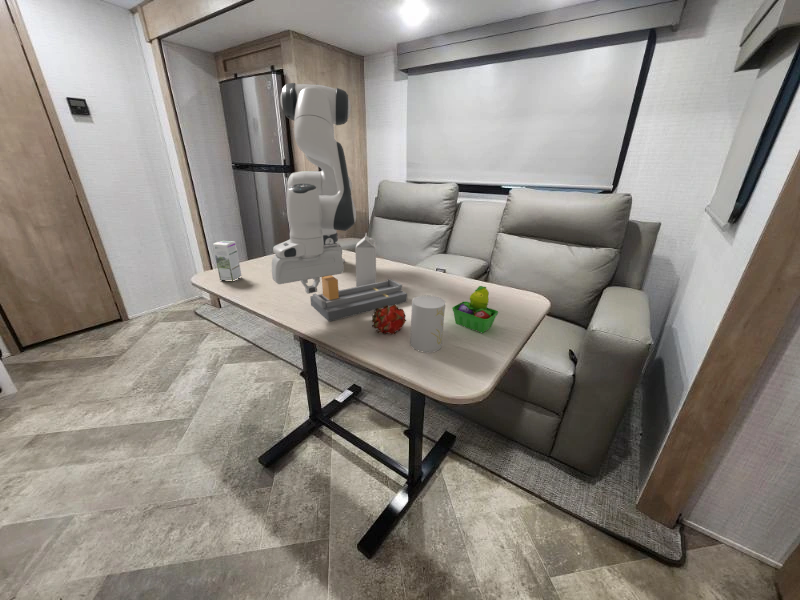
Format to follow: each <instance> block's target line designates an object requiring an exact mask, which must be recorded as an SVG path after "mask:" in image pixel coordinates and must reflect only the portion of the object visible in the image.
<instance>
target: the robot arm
mask: <svg viewBox="0 0 800 600" xmlns="http://www.w3.org/2000/svg"><path fill="white" fill-rule="evenodd" d="M279 99H280V100H279V102H280V106H281V109H282V111H283V115H285V117H286V118H288V119H289V120H290V121H291V120H292V121H294V122H293V123H294V125H293V126H294V127H293V133H294V141H295V143H296V146H297V147H298V148H299V149H300V151H301V152H302V153H303V154H304V156H305V158H306V159H307V161H309V162H310V163H311V164H312V165H314V166H316V167H318V168H320V169H321V171H315V170H314V171H311V170H309V171H308V170H306V171H305V170H303V171H296V172H292V173H290V175H289V177H288V179H287V193H286V198H287V199H286V210H287V211H286V213H287V220H288V223H289V226H290V227H289V230H290V232H289V239H288V240H286V241H283V242H280V243H278V244H276V245H274V246H273V250H272V251H273V254H274V256H273V257H272V261H271V276H272V280H273V282H274V283H276V284H277V285H284V284H291V283H295V282H300V283H301V284H302V286H303V287H304V289H305V294H306V295H307V294H309V295H310V294H315V293H317V292H318V288H317V287H318V286H319V283H321V278H322V277H325V276H331V275H332V276H335V275H341V274H342V273H343V272H344V268H345V267H344V263H345V262H346V260H345V258H343V247H342V245H341V244H340V242H339V241H338V240H339V236H338V235H339V234H338V232H337V231H342V232H347V231H349V230H350V229H351V228H352V227H353V226H354V225H355V223H356V221H357V210H356V205H355V202H354V200H353V196H352V190H353V183H352V180H351V178H350V176H349V172H348V167H347V166H348V165H347V162H346V156H345V152H344V151H345V150H344V148H343V146H342V144H341V143H340V142H338V141H337V140H336V139H335V127H334V125H335V126H342V125H345V124H346V123H347V122H348V119H349V118H350V115H351V111H352V107H351V106H352V105H351V101H350V98H349V94H348V93H347V92H346V90H344V89H341V88H338V87H336V88H335V87H330V86H327V85H322V84H311V83H310V84H309V83H299V84H298V83H295V82H290V83H286V84H285V85H284V86H283V87H282V89H281V93H280V97H279ZM311 279H312V280H313V283H312V285H308V280H311Z"/></svg>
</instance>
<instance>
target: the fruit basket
mask: <svg viewBox="0 0 800 600" xmlns="http://www.w3.org/2000/svg"><path fill="white" fill-rule="evenodd" d="M489 292H490V291H489V290H488V289H487V286H484V285H479V286H478V287H476V289H475V290H474V292H472V293H471V294H470V295H469V301H466V300H465V301H462V302H460V303H458V304H456V305H454V306H452V308H451V309H452V312H453V316H454V321H455V324H456V325H458V324H459V325H458V326H461V327H464V326H465V327H464V328H468V329H470V330H472V329H473V331H475V330H477V332H478V331H479V332H478V333H481V332H482V333H481V334H484V333H485V332H487V331H488V330H489V329H490V327H492V326H493V323H494V322H495V320H496V318H497V316H498V314H499V311H498V310H496V309H493V308H490V307H488V305H489ZM486 330H487V331H486ZM484 331H485V332H484Z"/></svg>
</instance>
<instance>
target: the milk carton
mask: <svg viewBox="0 0 800 600" xmlns="http://www.w3.org/2000/svg"><path fill="white" fill-rule="evenodd" d="M376 243H377V242H376V240H375V239H374V238H373V237H369V236H368V234H367V232H365V236H364V237H362V238H361V240H359V241H358V242H357V243H356V245H355V251H354V253H355V281H356V282H355V285H356V286H355V287H358V286H363V285H368V284H373V283H377V244H376Z"/></svg>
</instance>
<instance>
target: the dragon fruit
mask: <svg viewBox="0 0 800 600" xmlns="http://www.w3.org/2000/svg"><path fill="white" fill-rule="evenodd" d="M371 322H372V324H371V327H372V328H373V329H375V332H376V333H378V334H382V335H386V334H387V333H388V334H390V335H394V336H396V335H397V332H400V331H401V329H402V328H403V326H404V325H405V323H406V322H407V319H406V313H405V311H404V309H403V308H399V307H398V305H397V304H396V305H392V306H388V305H386V306H383V308H376V310H374V312H373V314H372V316H371Z"/></svg>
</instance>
